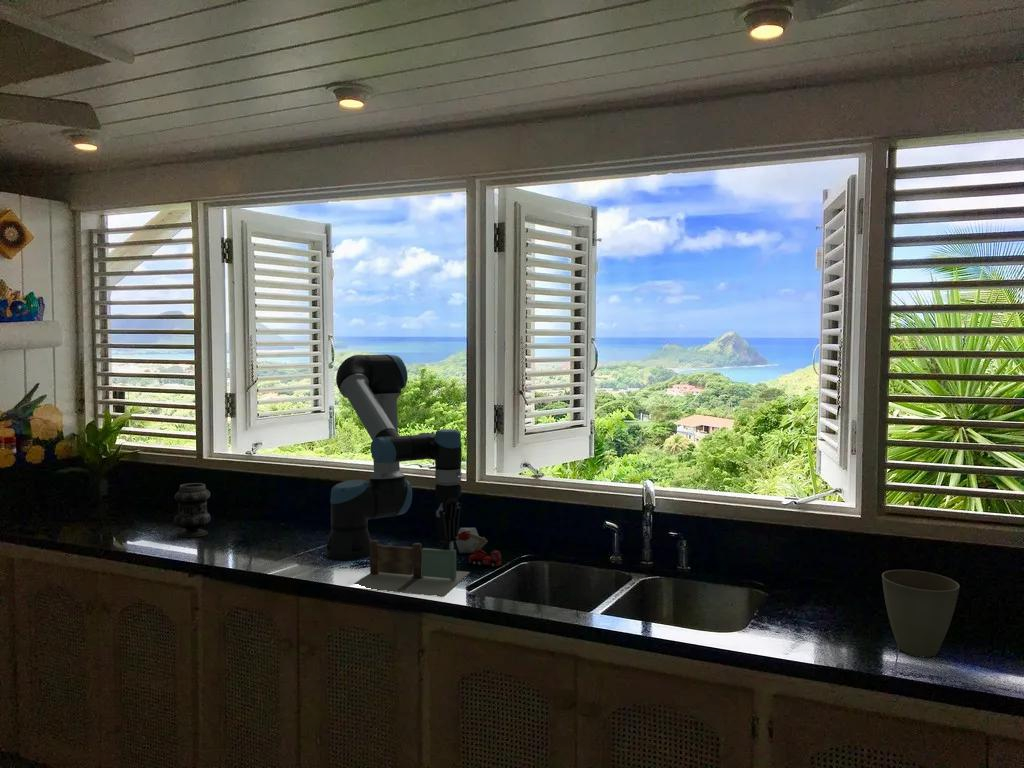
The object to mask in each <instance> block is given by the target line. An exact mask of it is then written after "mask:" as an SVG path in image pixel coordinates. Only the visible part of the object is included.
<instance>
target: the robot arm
mask: <svg viewBox="0 0 1024 768" xmlns="http://www.w3.org/2000/svg"><path fill="white" fill-rule="evenodd" d="M408 378H409V377H408V370H407V366H406V364H405V362H404V361H403V359H402V358H401V357H400V356H398V355H394V354H387V353H386V354H354V355H351V356H349V357H348V358H346V359H345V360H343V362H341V363H340V365H339V367H338V369H337V372H336V375H335V381H336V387H337V389H338V391H339V393H340V395H341V396H342V397H343V398H345V399H347V401H349V403H350V405H351V406H352V409H353V410H354V411H355V414H356V415H357V417H358V419H359V421H361V423H362V425H363V427H364V428H365V430H366V432H367V434H368V435H369V437H370V439H371V444H370V453H371V458H372V460H373V472H372V474H370V476H369V483H368V481H367V480H365V479H351V480H346V481H341V482H339V483H337V484H335V485H334V486H332V488H331V491H330V499H329V503H330V533H329V536H328V539H327V543H326V546H325V557H326V558H328V559H331V560H336V561H338V560H339V561H352V560H362V559H365V558H367V557H370V541H371V540H372V538H371V536H370V535H371V534H370V533H369V530H368V529H369V527H368V522H369V520H375V519H376V520H377V519H380V518H382V519H383V518H387V517H393V518H394V517H397V516H400V515H404V514H406V512H408V511H409V509H410V508H411V504H412V500H413V489H412V485H411V483H410V482H409V480H408V479H405V474H404V473H403V472H402V471H401V467H400V463H401V462H411V461H412V462H414V461H420V460H421V461H423V460H433V461H434V462H435V464H434V465H435V469H434V473H435V474H434V482H435V485H434V487H435V488H434V492H435V497H436V498H438V499H439V500H438V509H434V510H433V515H434V517H435V518H434V519H435V523H436V531H437V539H438V541H439V542H441V543H442V549H443V550H452V549H454V547H455V546H454V545H455V542H456V541H457V538H456V537H457V536H458V532H459V530H460V519H461V512H462V507H463V503H461V502H459V499H458V498H460V497H461V495H462V484H461V483H460V482H461V481H462V475H463V473H462V435H461V431H460V430H458V429H452V428H449V429H447V428H446V429H445V428H443V429H438V430H436V431H435V433H431V432H419V433H418V434H410V435H408V434H407V435H406V434H405V435H400V434H399V422H398V421H399V417H398V399H399V397H400V396H401V395H402V390H403V389H404V388H405V387H406V386H407V382H408ZM454 541H455V542H454ZM454 550H455V549H454Z"/></svg>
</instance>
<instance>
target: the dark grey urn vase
mask: <svg viewBox="0 0 1024 768" xmlns="http://www.w3.org/2000/svg"><path fill="white" fill-rule="evenodd" d="M210 498H211V492H210V491H209V490H208V489H207V487H206V484H205V483H202V482H200V483H199V482H193V483H192V482H190V483H189V482H188V483H183V484H180V485H179V489H178V491H177V492H176V493H175V494H174V500H175V501H176V502H177V503H178V505H177V506H178V507H177V508H178V509H177V514H176V515H175V517H174V519H173V522H174V524H175V525H176V526H178V527H179V528H183V529H185V530H183V531H182V532H179V533H178V534H177V537H179V538H182V539H183V538H184V539H192V538H199V537H203V536H206V535H208V534H209V533H208V530H205V529H202V528H201V527H203V526H206V525H207V524H208V523H210V522H211V514H210V513H209V512H208V500H209V499H210Z"/></svg>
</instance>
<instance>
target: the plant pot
mask: <svg viewBox="0 0 1024 768" xmlns="http://www.w3.org/2000/svg"><path fill="white" fill-rule="evenodd" d="M881 579H882V580H881V581H882V587H883V589H882V591H883V594H884V595H883V596H884V602H885V606H886V607H885V608H886V611H887V616H888V620H889V624H890V627H891V630H892V633H893V637H894V639H895V643H896V644H897V647H898V649H899V651H901V650H902V651H903V653H904V652H906V653H905V654H907V653H908V654H907V655H909V654H911V655H910V656H913V655H917V656H924V657H923V658H932V657H931V656H933V657H935V656H936V655H937V654H938V652H939V651H940V649H941V646H942V644H943V642H944V640H945V637H946V635H947V632H948V630H949V628H950V625H951V622H952V620H953V615H954V612H955V609H956V606H957V601H958V597H959V591H960V587H961V586H960V583H958V582H957V581H955V580H953V579H952V578H949V577H948V576H943V575H942V574H937V573H934V572H928V571H923V570H915V569H892V570H886V571H884V572H882V574H881ZM902 651H901V652H902ZM917 656H916V657H917Z"/></svg>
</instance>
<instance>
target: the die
mask: <svg viewBox="0 0 1024 768" xmlns="http://www.w3.org/2000/svg"><path fill="white" fill-rule="evenodd" d="M465 531H470V532H471V533H472V534H474V535H477V536H480V535H479V533H478V531H477V527H459V530H458V534H460V533H461V532H465ZM455 538H457V541H455V544H456V546H457V549H458V552H459V554H474V549H475V548H476V546H477V545H478V543H479V542H480V541H479V540H477V539H474V538H471V537H470V539H468V540H467V541H463V540H458V536H457V537H455Z"/></svg>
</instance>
